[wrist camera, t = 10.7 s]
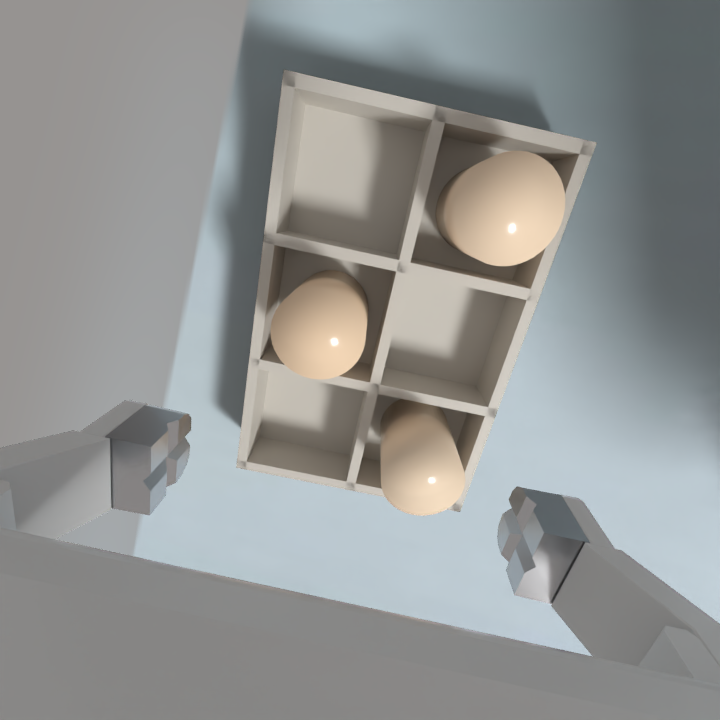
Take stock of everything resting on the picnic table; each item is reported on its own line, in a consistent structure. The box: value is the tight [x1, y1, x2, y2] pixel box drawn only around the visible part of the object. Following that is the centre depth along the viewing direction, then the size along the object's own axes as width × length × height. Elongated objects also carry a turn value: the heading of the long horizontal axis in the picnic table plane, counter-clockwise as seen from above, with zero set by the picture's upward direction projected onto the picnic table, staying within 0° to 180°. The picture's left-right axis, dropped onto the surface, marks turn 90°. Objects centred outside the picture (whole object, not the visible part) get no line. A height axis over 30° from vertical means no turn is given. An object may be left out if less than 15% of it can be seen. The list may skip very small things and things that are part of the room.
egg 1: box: [270, 270, 369, 379], centre depth 22 cm, size 5×5×6 cm
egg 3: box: [436, 151, 565, 266], centre depth 20 cm, size 5×5×6 cm
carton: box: [236, 70, 597, 512], centre depth 24 cm, size 15×22×4 cm
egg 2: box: [380, 399, 465, 515], centre depth 25 cm, size 5×5×6 cm
